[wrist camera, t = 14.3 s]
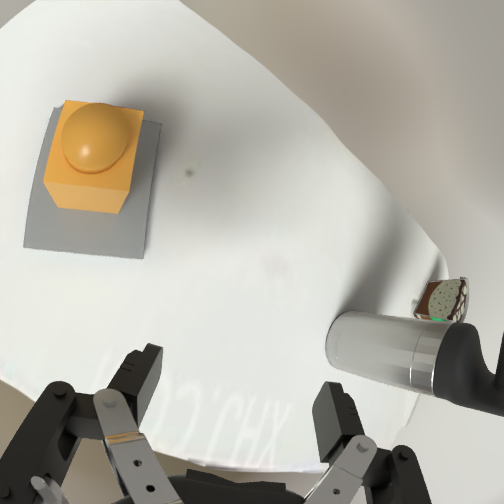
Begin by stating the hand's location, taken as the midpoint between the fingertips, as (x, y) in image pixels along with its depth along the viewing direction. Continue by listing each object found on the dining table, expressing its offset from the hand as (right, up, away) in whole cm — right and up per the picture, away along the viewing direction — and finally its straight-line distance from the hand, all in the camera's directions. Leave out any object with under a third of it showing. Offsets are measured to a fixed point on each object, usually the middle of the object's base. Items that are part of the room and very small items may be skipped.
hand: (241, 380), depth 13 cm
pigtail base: (-15, +13, +12) cm, 23 cm away
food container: (+38, -6, +43) cm, 58 cm away
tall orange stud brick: (-14, +13, +11) cm, 22 cm away
